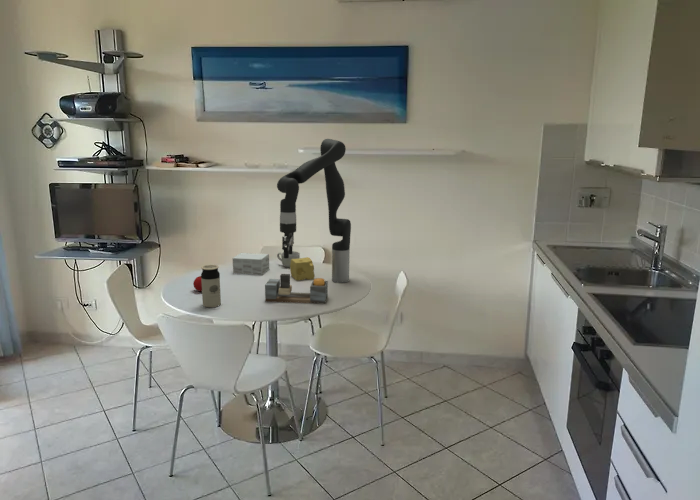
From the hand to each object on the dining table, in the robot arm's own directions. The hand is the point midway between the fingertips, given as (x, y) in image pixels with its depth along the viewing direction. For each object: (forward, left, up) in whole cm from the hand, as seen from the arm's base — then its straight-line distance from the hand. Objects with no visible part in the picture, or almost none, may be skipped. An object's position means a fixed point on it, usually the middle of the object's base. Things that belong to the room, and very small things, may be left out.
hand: (288, 256), depth 240 cm
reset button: (0, +15, -15) cm, 21 cm away
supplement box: (-45, -29, -21) cm, 57 cm away
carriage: (0, -1, -17) cm, 18 cm away
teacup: (-59, -11, -21) cm, 63 cm away
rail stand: (0, +4, -21) cm, 21 cm away
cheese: (-36, +1, -21) cm, 42 cm away
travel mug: (+12, -33, -21) cm, 41 cm away
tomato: (-8, -44, -21) cm, 49 cm away
